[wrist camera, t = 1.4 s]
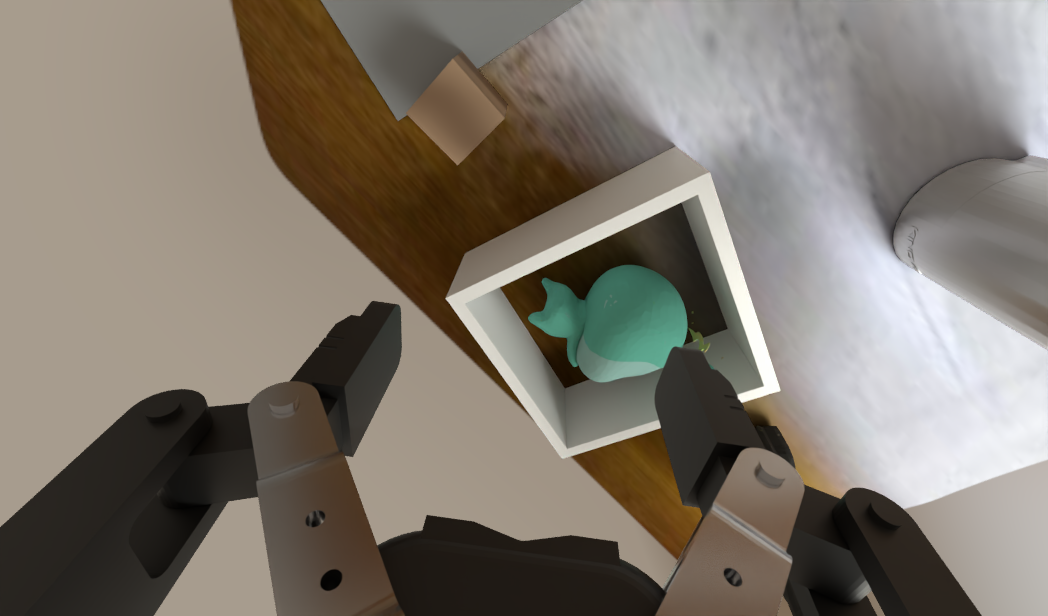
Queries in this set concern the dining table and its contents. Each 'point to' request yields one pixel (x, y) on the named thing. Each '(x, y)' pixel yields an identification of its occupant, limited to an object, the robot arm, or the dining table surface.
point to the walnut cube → (458, 109)
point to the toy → (618, 323)
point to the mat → (432, 37)
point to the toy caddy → (604, 210)
